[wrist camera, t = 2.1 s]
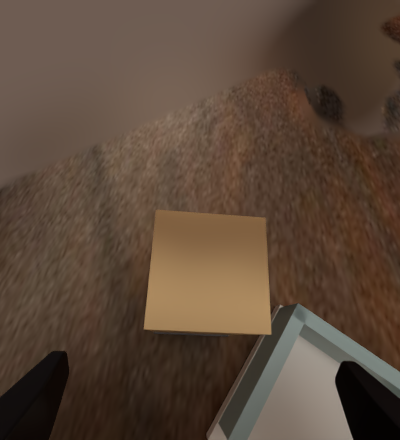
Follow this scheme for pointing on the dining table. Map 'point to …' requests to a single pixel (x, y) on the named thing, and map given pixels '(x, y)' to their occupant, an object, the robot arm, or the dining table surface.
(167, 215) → the amber plug block
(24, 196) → the dining table surface
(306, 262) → the dining table surface
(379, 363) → the slot rack
